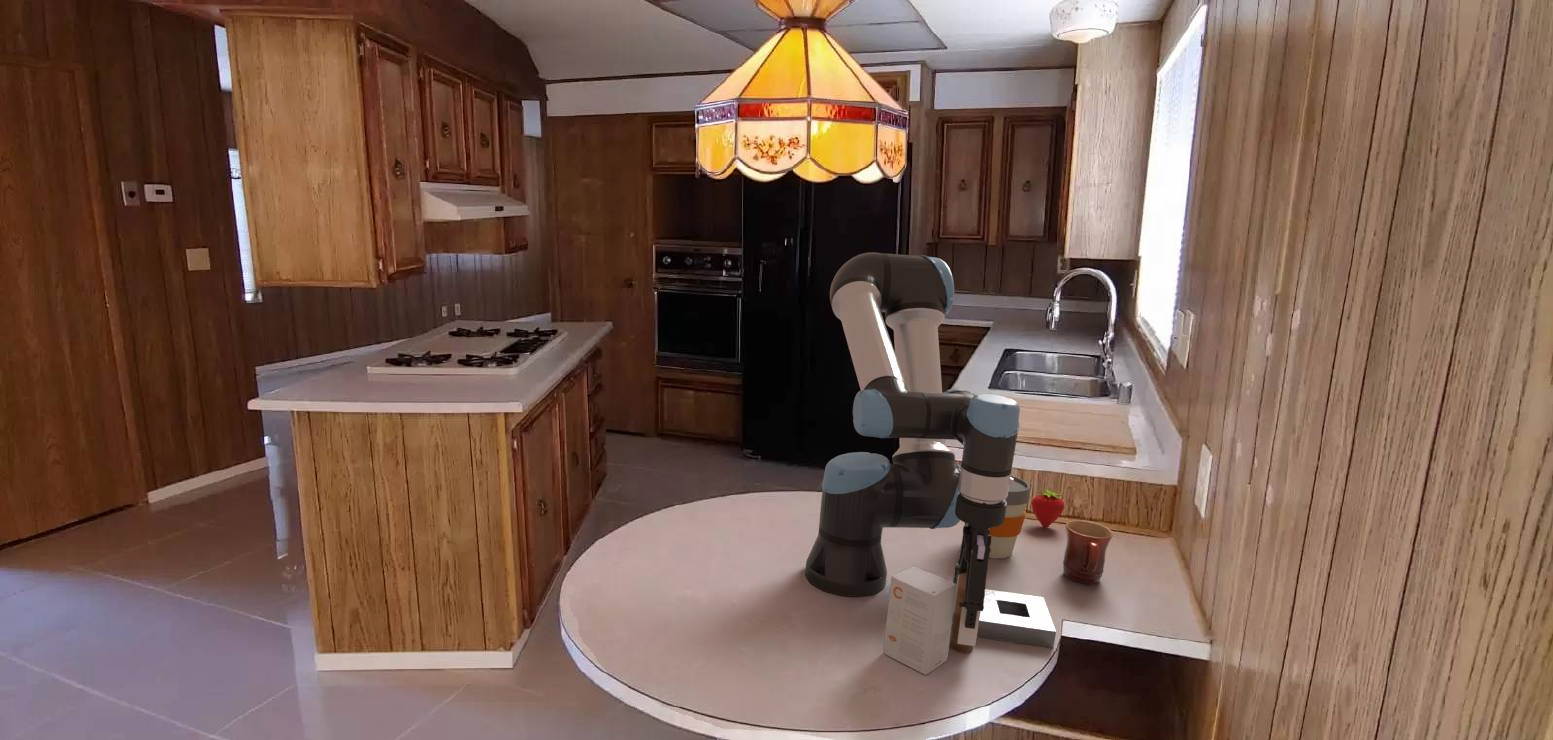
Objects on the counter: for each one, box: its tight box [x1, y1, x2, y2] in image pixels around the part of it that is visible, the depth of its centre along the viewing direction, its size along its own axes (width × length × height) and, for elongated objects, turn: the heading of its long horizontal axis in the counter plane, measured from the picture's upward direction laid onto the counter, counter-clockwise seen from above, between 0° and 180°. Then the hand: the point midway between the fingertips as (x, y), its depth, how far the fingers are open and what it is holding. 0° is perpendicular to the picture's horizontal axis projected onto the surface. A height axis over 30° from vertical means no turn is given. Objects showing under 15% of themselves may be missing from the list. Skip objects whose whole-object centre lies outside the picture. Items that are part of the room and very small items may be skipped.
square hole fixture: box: [952, 563, 1057, 649], centre depth 136 cm, size 16×12×9 cm
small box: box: [882, 566, 956, 676], centre depth 123 cm, size 8×6×13 cm
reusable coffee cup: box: [989, 475, 1031, 559], centre depth 166 cm, size 13×13×15 cm
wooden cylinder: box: [949, 573, 974, 654], centre depth 127 cm, size 4×4×12 cm
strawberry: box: [1031, 484, 1065, 528], centre depth 181 cm, size 6×8×10 cm
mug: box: [1062, 519, 1114, 585], centre depth 155 cm, size 12×9×10 cm
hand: (963, 627), depth 128 cm, fingers open, 9 cm apart
